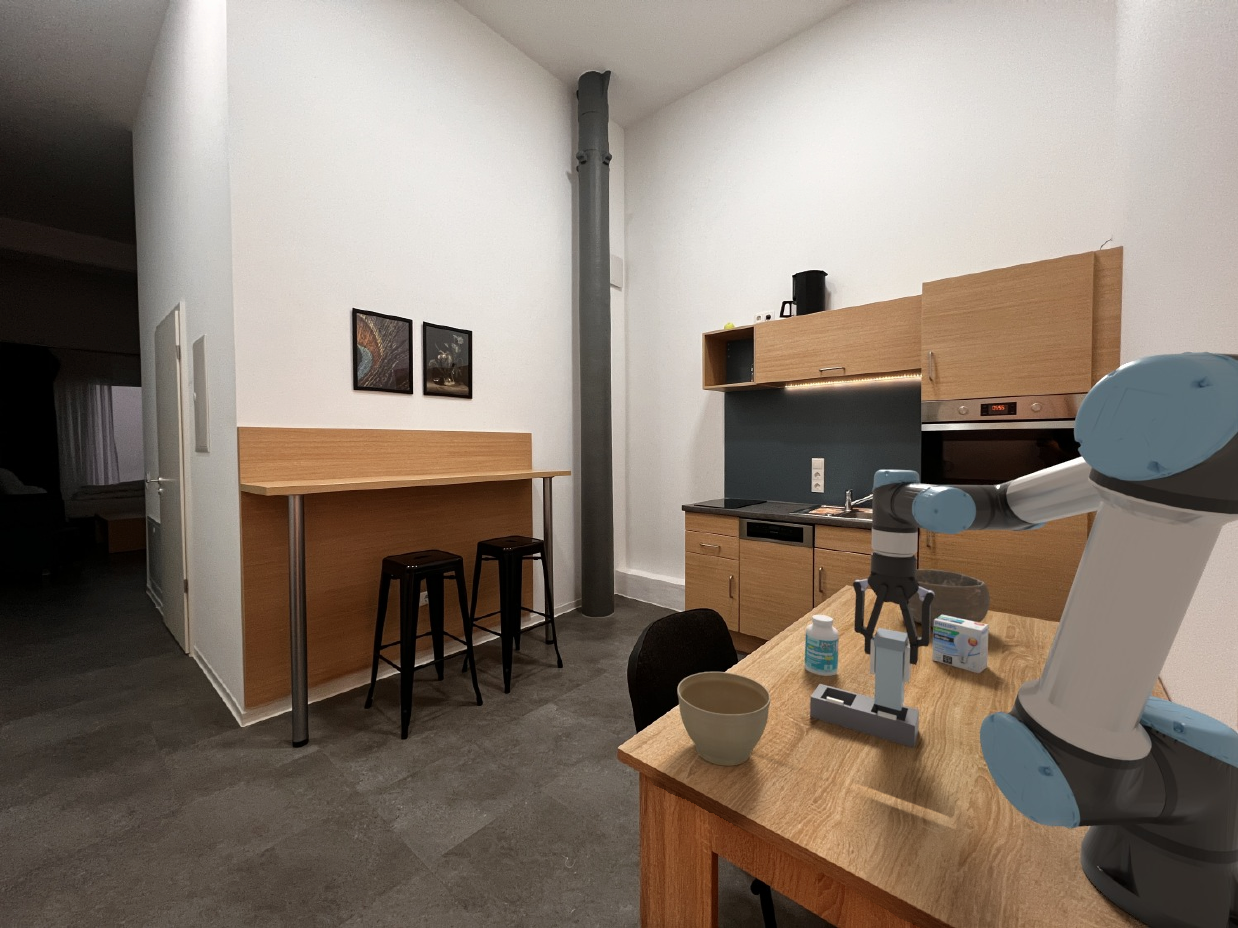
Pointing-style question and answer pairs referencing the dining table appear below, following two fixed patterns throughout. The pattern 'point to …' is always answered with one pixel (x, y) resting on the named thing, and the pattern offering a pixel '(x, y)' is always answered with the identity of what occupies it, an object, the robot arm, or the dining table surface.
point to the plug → (890, 668)
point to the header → (864, 715)
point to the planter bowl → (723, 715)
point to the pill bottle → (821, 646)
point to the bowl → (951, 596)
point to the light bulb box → (960, 643)
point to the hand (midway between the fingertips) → (890, 675)
